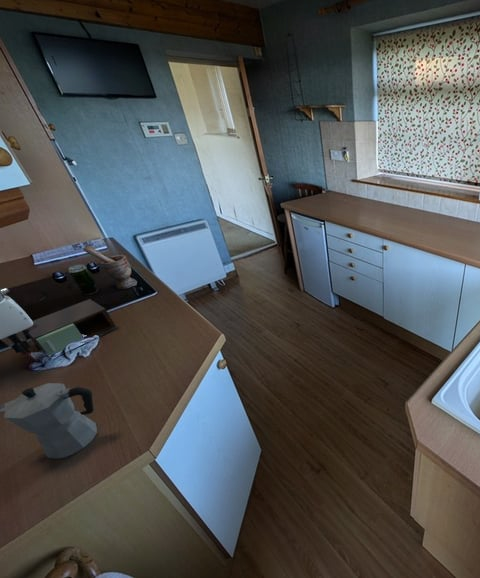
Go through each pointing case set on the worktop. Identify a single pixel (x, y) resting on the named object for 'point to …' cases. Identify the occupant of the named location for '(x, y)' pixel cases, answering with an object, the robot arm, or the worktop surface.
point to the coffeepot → (53, 418)
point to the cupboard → (75, 321)
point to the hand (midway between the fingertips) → (25, 351)
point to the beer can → (83, 279)
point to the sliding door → (59, 339)
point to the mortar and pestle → (115, 268)
